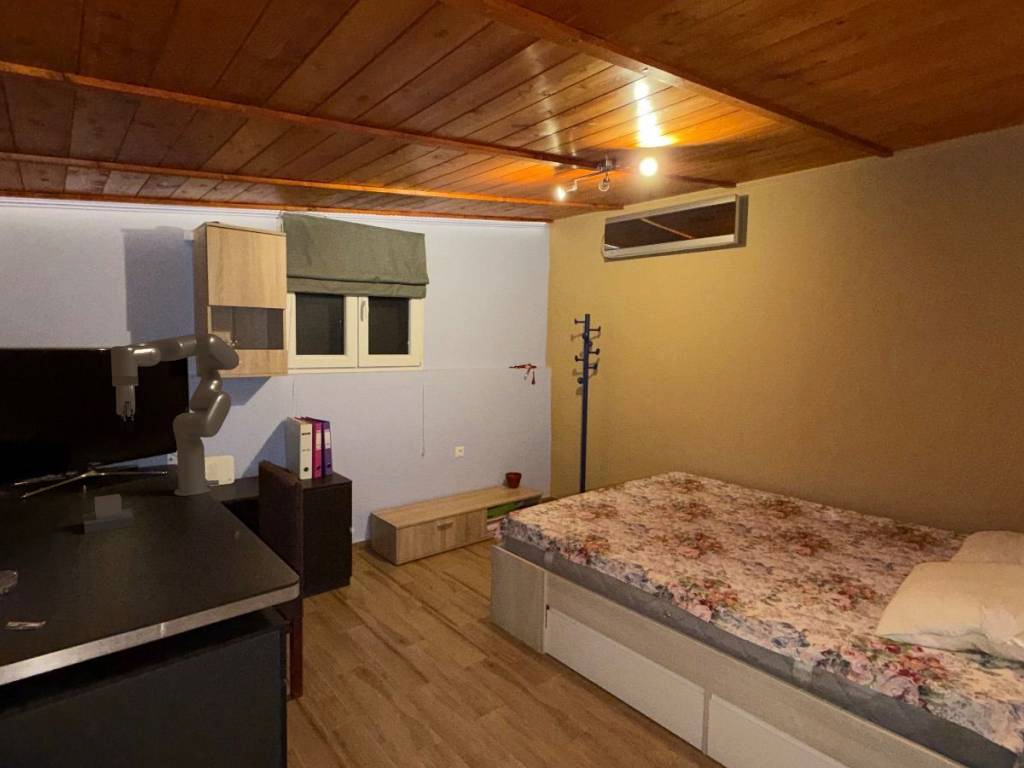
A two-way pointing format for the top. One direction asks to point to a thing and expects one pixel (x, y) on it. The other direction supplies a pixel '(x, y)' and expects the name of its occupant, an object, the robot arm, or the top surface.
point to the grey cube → (108, 506)
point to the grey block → (108, 522)
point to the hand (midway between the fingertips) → (127, 430)
